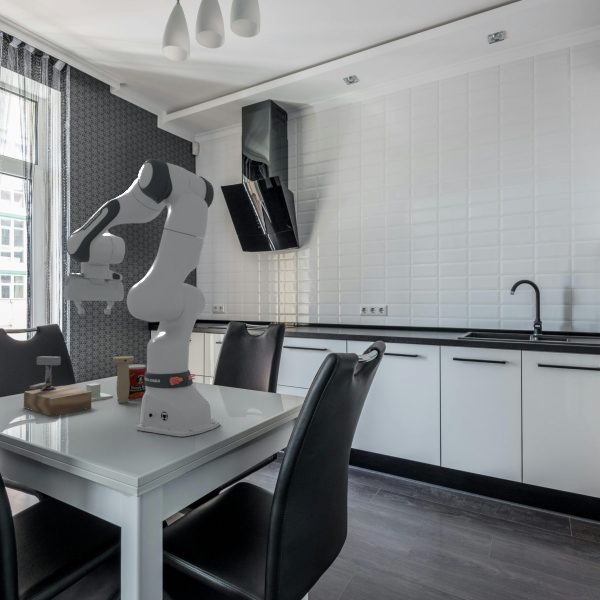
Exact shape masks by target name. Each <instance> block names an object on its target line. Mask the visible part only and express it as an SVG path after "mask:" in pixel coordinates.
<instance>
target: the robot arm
mask: <svg viewBox="0 0 600 600" xmlns="http://www.w3.org/2000/svg"><path fill="white" fill-rule="evenodd" d="M138 170H139V171H138V175H137V178H136V179H135V180H134V181H133V183H132V184H131V186H130V187H129V188H128V189H127V190H126V191H125V192H124V193H122V194H121V195H119V196H117V197H115V198H113V199H109V200H108V201H107V202H105V203H103V205H102V206H101V207H100V208H98V210H97V211H96V212H94V214H93V215H92V216H91V217H90V218H89V219H88V220H87V221H86V222H85V223H84V224H83V225H82V226H81V227H79V228H78V229H76V230H75V231H74V232H72V233H70V235H69V236H68V238H67V240H66V245H65V246H66V247H65V248H66V252H67V254H68V255H69V256H70V258H72V260H73V261H75V262H76V263H80V265H81V266H80V270H81V271H80V272H79V273H76V272H75V273H74V272H69V273H67V274H66V275H65V276H64V277H63V278H64V281H63V282H64V287H63V294H62V296H63V299H64V300H65V301H71V302H72V301H73V302H74V306H75V307H76V309H77V314H78V315H85V314H86V313H85V311H86V309H85V308H83V307H82V304H83V302H84V301H85V302H87V301H88V302H93V301H95V302H106V304H107V306H106V308H104V309H103V314H104V315H110V314H111V311H112V310H111V309H113V307H114V305H115V302H122V301H123V300H124V298H125V297H124V296H125V290H124V284H123V282H122V280H123V279H124V278H123V275H122V274H121V273H118V272H116V271H113V270H112V269H110V265H119V264H122V263H123V262H124V261H125V260H126V258H127V257H128V253H129V252H128V251H129V250H128V248H129V247H128V244H127V243H126V240H125V239H124V238H123V237H120V236H117V235H115V234H112V233H110V232H109V229H110V228H112V227H116V226H118V225H127V224H144V223H149V222H151V221H153V220H154V219H156V218H158V216H159V215H160V214H161V213H162V211H163V210H164V208H165V207H166V208H167V215H166V219H165V223H164V226H163V231H162V235H161V239H160V243H159V246H158V251H157V254H156V256H155V259H154V260H153V263H152V265H151V266H150V268H149V270H147V273H146V274H145V276H143V278H142V279H140V281H138V282H137V283H135V284H134V285H132V286H131V288H130V289H129V290H128V293H127V297H126V306H127V309H128V312H129V313H130V315H132V317H134V318H135V319H138V320H141V321H146V322H149V323H156V322H159V325H158V327H157V330H156V332H155V334H154V335H153V337H151V338H150V339H149V341H148V342H147V345H146V347H147V348H146V372H145V385H146V390H145V393H144V395H143V398H141V407H140V416H139V423H137V425H136V431H141V432H146V433H147V432H149V433H153V434H161V435H166V436H173V437H174V436H175V437H189V436H194V435H199V434H202V433H206V432H208V431H209V432H210V431H212V430H214V429H215V428H217V427H218V426H220V424H221V423H220V420H218V419H216V418H213V417H212V412H211V411H212V410H211V405H210V402H209V401H208V400H207V399H206V398H205V397H204V396H203V395H202V394H201V393H200V391H199V390H198V389H197V388H196V387H195V386H194V385H193V384H194V382H193V380H196V378H195V377H196V374H191V370H189V361H190V359H189V357H190V341H191V336H192V333H193V330H194V326H195V325H196V324H195V323H196V321H197V319H198V317H199V316H200V315H201V314H202V313H203V312H204V309H205V306H206V298H205V295H204V293H203V292H202V290H201V289H200V288H198V287H196V286H194V285H192V284H189V283H185V280H186V278H187V277H188V276H189V275H190V273H191V272H192V271H194V270H195V269H196V268H197V267H198V265H199V263H200V259H201V255H202V251H203V247H204V243H205V237H206V232H207V225H208V217H209V216H208V215H209V208H210V206H211V205H212V204H213V201H214V197H215V193H214V192H215V190H214V186H213V185H212V183H211V182H210V181H209V180H208V179H206V178H205V177H203V176H199V175H197V174H195V173H193V172H192V171H189V170H187V169H185V168H184V167H182V166H180V165H176V164H174V163H170V162H166V161H165V160H162V159H158V158H157V159H156V158H150V159H147V160H146V161H145V162H143V164H141V167H140V168H139V169H138ZM82 301H83V302H82Z"/></svg>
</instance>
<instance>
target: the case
mask: <svg viewBox="0 0 600 600" xmlns="http://www.w3.org/2000/svg"><path fill="white" fill-rule="evenodd" d="M91 393H92V392H90V391H86V389H81V388H80V389H79V388H76V387H75V388H74V387H70V386H66V385H58V386H54V389H51V390H42V388H38V389H32V390H26V391H23V408H24V407H25V408H24V409H26V408H29V409H28V410H30V409H32V410H31V411H33V410H35V411H34V412H36V411H38V412H37V413H39V412H41V413H40V414H43V415H46V414H47V415H48V416H49V415H50V416H49V417H53V416H58V415H63V414H64V415H65V414H67V413H73V412H77V411H83V410H87V409H91V408H92V402H91ZM47 415H46V416H47Z"/></svg>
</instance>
